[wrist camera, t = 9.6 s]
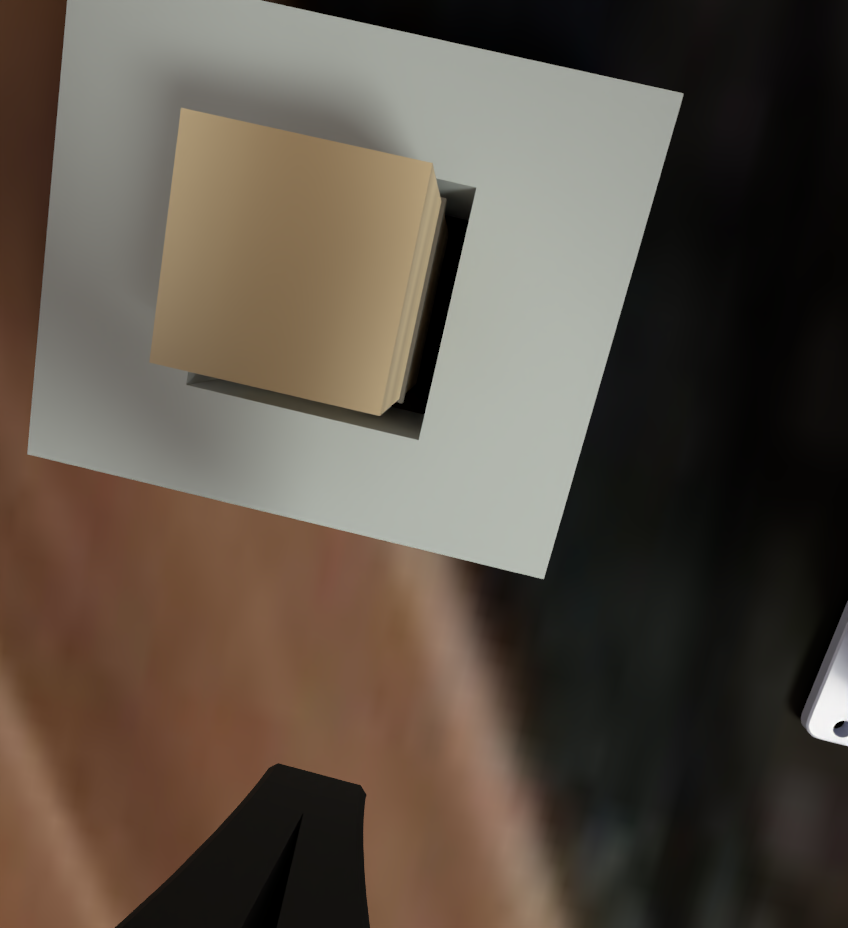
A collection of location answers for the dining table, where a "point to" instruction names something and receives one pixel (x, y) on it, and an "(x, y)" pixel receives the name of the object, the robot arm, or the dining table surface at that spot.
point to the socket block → (473, 298)
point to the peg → (298, 263)
